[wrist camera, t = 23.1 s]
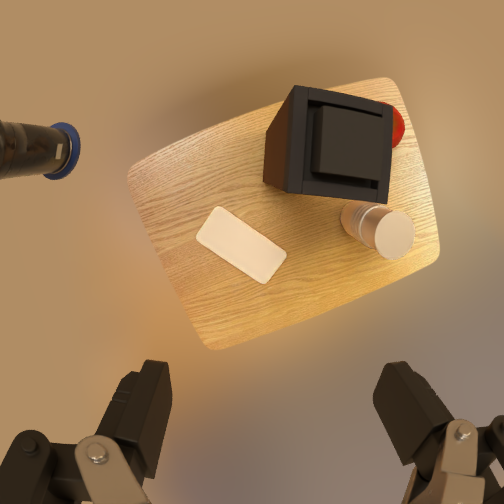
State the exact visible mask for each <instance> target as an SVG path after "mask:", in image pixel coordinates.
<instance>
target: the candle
mask: <svg viewBox="0 0 504 504" xmlns="http://www.w3.org/2000/svg"><path fill="white" fill-rule="evenodd" d="M340 219H341V224H342V226H343V227H344V229H345V231H346V232H347V233H348V234H349V235H350V236H352V237H354V238H355V239H356V240H357V241H359V242H361V243H362V244H364V245H365V246H367V247H369V248H371V249H375V250H377V251H378V253H379V254H380V255H381V256H382V257H384V258H386V259H390V260H396V259H399V258H401V257H403V256H404V255H406V254H407V253H408V252H409V250H410V249H411V247H412V245H413V243H414V239H415V226H414V223H413V221H412V219H411V218H410V216H409V215H408V214H406V213H404V212H402V211H398V210H395V211H393V210H390V209H389V208H388V207H386V206H384V205H380V204H377V203H373V202H366V201H358V200H355V201H351V202H349V203H347V204H346V205H345V206H344V208H343V209H342V211H341V216H340Z"/></svg>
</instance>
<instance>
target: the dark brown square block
mask: <svg viewBox="0 0 504 504" xmlns="http://www.w3.org/2000/svg"><path fill="white" fill-rule="evenodd" d="M383 141H384V118H381V117H377V116H373V115H369V114H364V113H360V112H355V111H351V110H346V109H341V108H335V107H330V106H322V107H321V108H320V109H318V110H317V111H316V112H314V113H313V131H312V147H311V162H310V172H315V173H323V174H331V175H339V176H346V177H353V178H360V179H367V180H376V181H381V172H382V159H383Z"/></svg>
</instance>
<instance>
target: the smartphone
mask: <svg viewBox="0 0 504 504" xmlns="http://www.w3.org/2000/svg"><path fill="white" fill-rule="evenodd" d="M196 240H197V241H198V242H199V243H201V244H202V245H204V246H205V247H207V248H208V249H210V250H211V251H213V252H214V253H216V254H217V255H219V256H220V257H222V258H223V259H225V260H226V261H228V262H229V263H231V264H232V265H234V266H235V267H237V268H238V269H240V270H241V271H243V272H244V273H246V274H247V275H249V276H250V277H252V278H253V279H255V280H256V281H258V282H259V283H261V284H265V283H267V282H268V281H269V279H270V278H271V277H272V275H273V274H274V273H275V272H276V270H277V269H278V268H279V266H280V265H281V264H282V263H283V261H284V260H285V259H286V257H287V254H286V252H285V251H284V250H283V249H282V248H280V247H279V246H277V245H276V244H275V243H273V242H272V241H270V240H269V239H268V238H266V237H265V236H263V235H262V234H260V233H259V232H257V231H256V230H255V229H253V228H252V227H250V226H249V225H247V224H246V223H245V222H243V221H242V220H240V219H239V218H237V217H236V216H235V215H233V214H232V213H230V212H229V211H227V210H226V209H224V208H223V207H221V206H217V207H215V208H214V210H213V211H212V212H211V214H210V215H209V217H208V218H207V220H206V221H205V223H204V224H203V226H202V227H201V229H200V230H199V232H198V233H197V235H196Z"/></svg>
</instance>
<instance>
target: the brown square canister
mask: <svg viewBox="0 0 504 504" xmlns="http://www.w3.org/2000/svg"><path fill="white" fill-rule="evenodd" d="M322 106H330V107H335V108H341V109H346V110H351V111H355V112H360V113H364V114H369V115H373V116H377V117H381V118H384V141H383V159H382V172H381V181H376V180H367V179H360V178H353V177H346V176H339V175H331V174H323V173H315V172H310V162H311V147H312V131H313V113H314V112H316V111H317V110H318V109H320V108H321V107H322ZM392 137H393V106H391V105H388V104H384V103H381V102H377V101H373V100H369V99H365V98H361V97H357V96H353V95H348V94H344V93H339V92H334V91H329V90H323V89H317V88H311V87H304V86H298V85H294V87H293V89H292V90H291V92H290V93H289V95H288V96H287V98H286V100H285V101H284V103H283V105H282V106H281V108H280V110H279V111H278V113H277V115H276V116H275V118H274V120H273V121H272V123H271V125H270V126H269V128H268V130H267V131H266V141H265V155H264V169H263V182H265V183H267V184H270V185H272V186H274V187H276V188H278V189H280V190H283V191H285V192H287V193H294V194H305V195H315V196H324V197H333V198H342V199H351V200H358V201H366V202H374V203H381V204H387V201H388V192H389V182H390V170H391V157H392Z"/></svg>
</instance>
